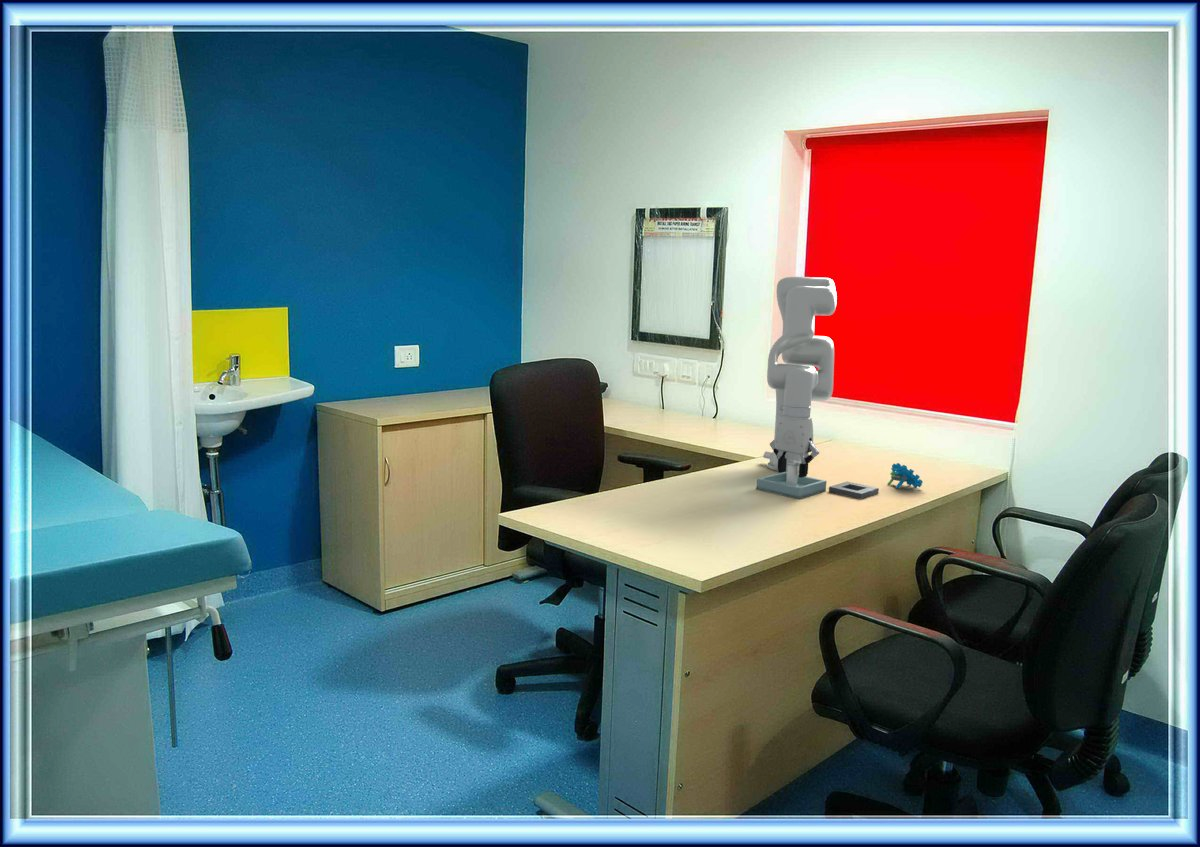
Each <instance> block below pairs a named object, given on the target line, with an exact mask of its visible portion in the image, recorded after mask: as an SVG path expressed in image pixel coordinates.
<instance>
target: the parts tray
mask: <svg viewBox="0 0 1200 847" xmlns="http://www.w3.org/2000/svg"><path fill="white" fill-rule="evenodd" d="M786 475H787V472H782V473H778V472H777V473H775V474H771V475H767V476H763V477H760V478H756V488H755V489H756V490H757V491H758V490H759V491H764V492H767V493H771V494H776V495H779V496H784V497H788V498H792V499H796V500H800V499H804V498H807V497H811V496H814V495H818V494H821V493H825V492H827V480H824V479H819V478H815V477H814V478H813V477H809V476H806V477H802V478H800V477H799V474H798V483H797V485H798V487H795V486H791V485H787V484H786ZM817 493H818V494H817Z"/></svg>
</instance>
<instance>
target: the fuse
mask: <svg viewBox="0 0 1200 847" xmlns="http://www.w3.org/2000/svg"><path fill="white" fill-rule="evenodd" d="M799 465H800V462H799V461H794V460H788V461H787V475H786V484H787V485H791V486H795V487H798V485H797V483H798V475H799V473H798V469H799Z"/></svg>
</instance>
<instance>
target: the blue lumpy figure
mask: <svg viewBox="0 0 1200 847" xmlns="http://www.w3.org/2000/svg"><path fill="white" fill-rule="evenodd" d="M890 469H891V472H890V480H889V481H888V483H887V485H889V486H890V485H892V484H893V482H894V481H897V482H898V483H897V484H896V486H895V488H896V489H897V490H899V489H900V488H901V486H902V485H903V484H904V482H906V485H907V486H913V488H921V487H922V486H923V484H924V483H923V480H922V479H920V478H921V477H920V476H919V475H918V474H915V475H914V472H915V470H913V469H911V468H910V469H908V466H907V465H904V464H902V465H901V464H900V463H899V462H896V463H893V464H892V465H891V468H890Z"/></svg>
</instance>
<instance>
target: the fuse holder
mask: <svg viewBox="0 0 1200 847" xmlns="http://www.w3.org/2000/svg"><path fill="white" fill-rule="evenodd" d="M879 488H880V487H876V486H871V485H865V484H861V483H855V482H851V481H844V482H843V481H842V482H839V483H837V484H834V485H830V486H828V493H833V494H836V493H837V495H842V496H845V495H846V497H851V498H856V499H860V500H862V499H866V498H868V497H871V496H874V495H878V494H879V490H880V489H879Z"/></svg>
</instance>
